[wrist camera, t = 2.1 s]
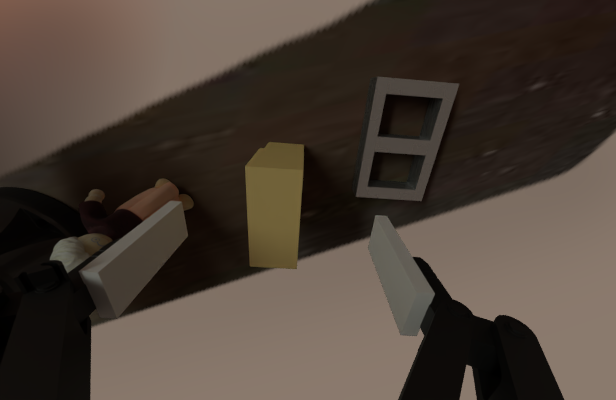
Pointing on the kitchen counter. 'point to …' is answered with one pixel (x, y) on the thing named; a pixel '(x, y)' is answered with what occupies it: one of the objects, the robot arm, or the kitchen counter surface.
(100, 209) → the grandmother figurine
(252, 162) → the yellow notched block
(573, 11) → the kitchen counter surface
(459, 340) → the robot arm
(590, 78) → the kitchen counter surface
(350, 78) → the kitchen counter surface
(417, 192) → the grey flat frame
